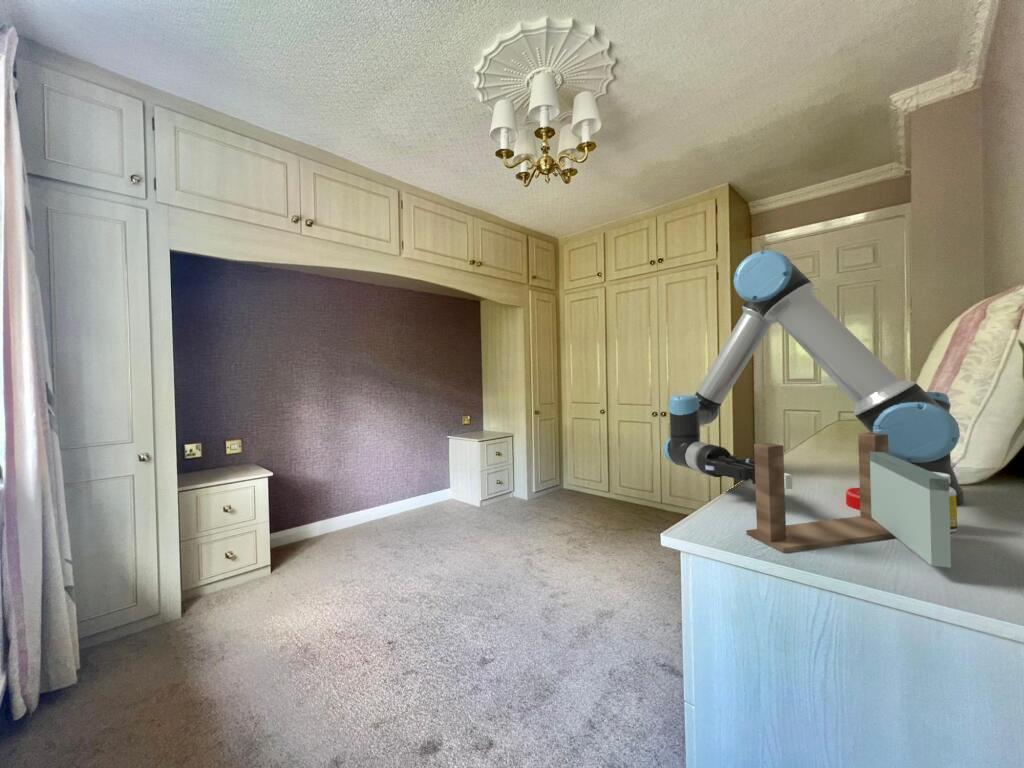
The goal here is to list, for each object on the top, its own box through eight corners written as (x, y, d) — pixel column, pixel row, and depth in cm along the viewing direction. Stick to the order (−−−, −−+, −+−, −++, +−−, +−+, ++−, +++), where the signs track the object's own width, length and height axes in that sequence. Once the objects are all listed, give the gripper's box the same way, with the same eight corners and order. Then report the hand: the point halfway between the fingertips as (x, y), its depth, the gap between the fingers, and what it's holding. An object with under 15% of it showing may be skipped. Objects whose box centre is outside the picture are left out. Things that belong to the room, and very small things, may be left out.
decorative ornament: (834, 504, 90) (834, 489, 90) (869, 499, 92) (869, 485, 92) (882, 518, 80) (882, 502, 80) (920, 512, 82) (920, 497, 82)
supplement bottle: (966, 534, 71) (965, 477, 71) (929, 533, 72) (927, 477, 72) (940, 523, 76) (939, 470, 76) (906, 522, 77) (905, 470, 77)
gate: (871, 517, 75) (869, 451, 75) (885, 518, 74) (883, 452, 74) (931, 565, 57) (929, 478, 56) (951, 567, 56) (948, 479, 56)
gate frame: (870, 518, 80) (868, 432, 79) (918, 534, 72) (916, 437, 71) (746, 534, 74) (743, 441, 74) (783, 552, 67) (780, 449, 66)
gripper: (732, 471, 105) (817, 497, 82) (686, 476, 102) (760, 504, 79) (731, 442, 105) (816, 460, 81) (685, 446, 102) (759, 465, 79)
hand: (788, 482), depth 80 cm, fingers closed
